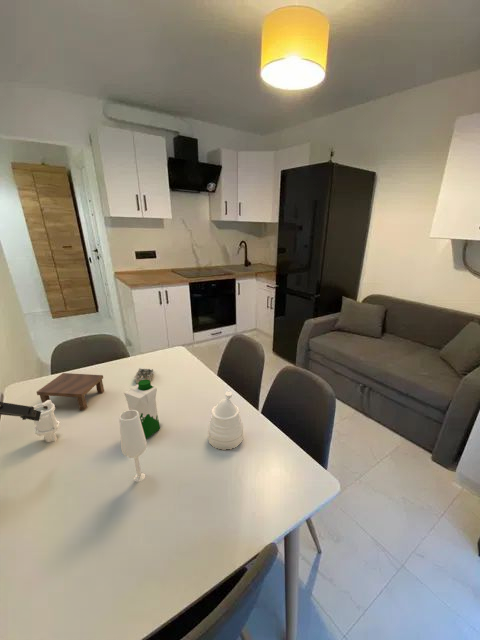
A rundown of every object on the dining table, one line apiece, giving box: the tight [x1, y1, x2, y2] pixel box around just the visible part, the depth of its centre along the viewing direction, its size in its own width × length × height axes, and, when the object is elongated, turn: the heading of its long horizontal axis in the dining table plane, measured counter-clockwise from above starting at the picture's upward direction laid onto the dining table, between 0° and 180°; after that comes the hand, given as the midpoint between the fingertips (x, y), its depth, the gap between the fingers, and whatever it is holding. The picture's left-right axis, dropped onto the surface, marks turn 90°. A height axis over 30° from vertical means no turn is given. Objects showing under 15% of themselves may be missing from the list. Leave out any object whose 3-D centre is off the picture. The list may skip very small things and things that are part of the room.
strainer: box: [32, 399, 61, 443], centre depth 98 cm, size 7×7×15 cm
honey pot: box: [207, 391, 244, 451], centre depth 103 cm, size 13×13×18 cm
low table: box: [36, 372, 105, 411], centre depth 123 cm, size 18×16×8 cm
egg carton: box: [134, 367, 154, 384], centre depth 142 cm, size 11×8×4 cm
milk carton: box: [123, 380, 161, 440], centre depth 104 cm, size 9×9×20 cm
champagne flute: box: [118, 409, 148, 482], centre depth 83 cm, size 7×7×24 cm
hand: (14, 416), depth 84 cm, fingers open, 13 cm apart
